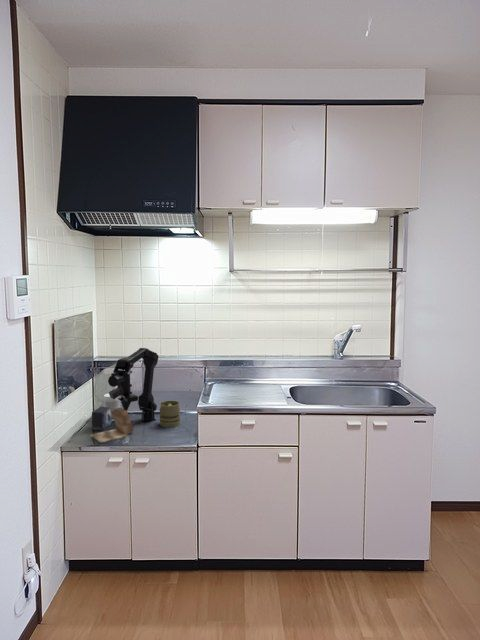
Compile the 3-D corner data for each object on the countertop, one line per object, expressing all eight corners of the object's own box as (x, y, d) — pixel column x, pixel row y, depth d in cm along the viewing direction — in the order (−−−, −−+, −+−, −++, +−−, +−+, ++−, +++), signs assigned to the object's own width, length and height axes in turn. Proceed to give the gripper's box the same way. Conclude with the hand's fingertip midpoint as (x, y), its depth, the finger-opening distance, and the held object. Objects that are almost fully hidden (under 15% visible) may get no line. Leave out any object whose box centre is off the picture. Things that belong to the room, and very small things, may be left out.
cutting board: (115, 430, 257) (115, 429, 257) (126, 436, 247) (126, 435, 247) (90, 435, 248) (90, 434, 248) (100, 442, 238) (100, 441, 238)
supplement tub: (124, 419, 275) (123, 394, 274) (109, 423, 269) (108, 397, 267) (116, 415, 282) (115, 391, 281) (101, 419, 276) (100, 394, 274)
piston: (179, 400, 272) (180, 405, 260) (179, 420, 273) (180, 426, 262) (159, 401, 270) (159, 406, 259) (160, 421, 271) (159, 427, 260)
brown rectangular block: (126, 426, 259) (120, 406, 255) (134, 430, 252) (127, 410, 248) (117, 430, 256) (111, 411, 252) (125, 435, 249) (118, 415, 245)
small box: (102, 431, 255) (102, 412, 254) (91, 430, 256) (91, 411, 255) (111, 425, 265) (111, 406, 264) (101, 424, 267) (100, 406, 265)
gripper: (102, 381, 253) (103, 410, 254) (118, 388, 239) (119, 418, 240) (122, 378, 260) (123, 406, 262) (138, 384, 246) (139, 414, 247)
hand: (125, 411), depth 252 cm, fingers closed, pressing on brown rectangular block
